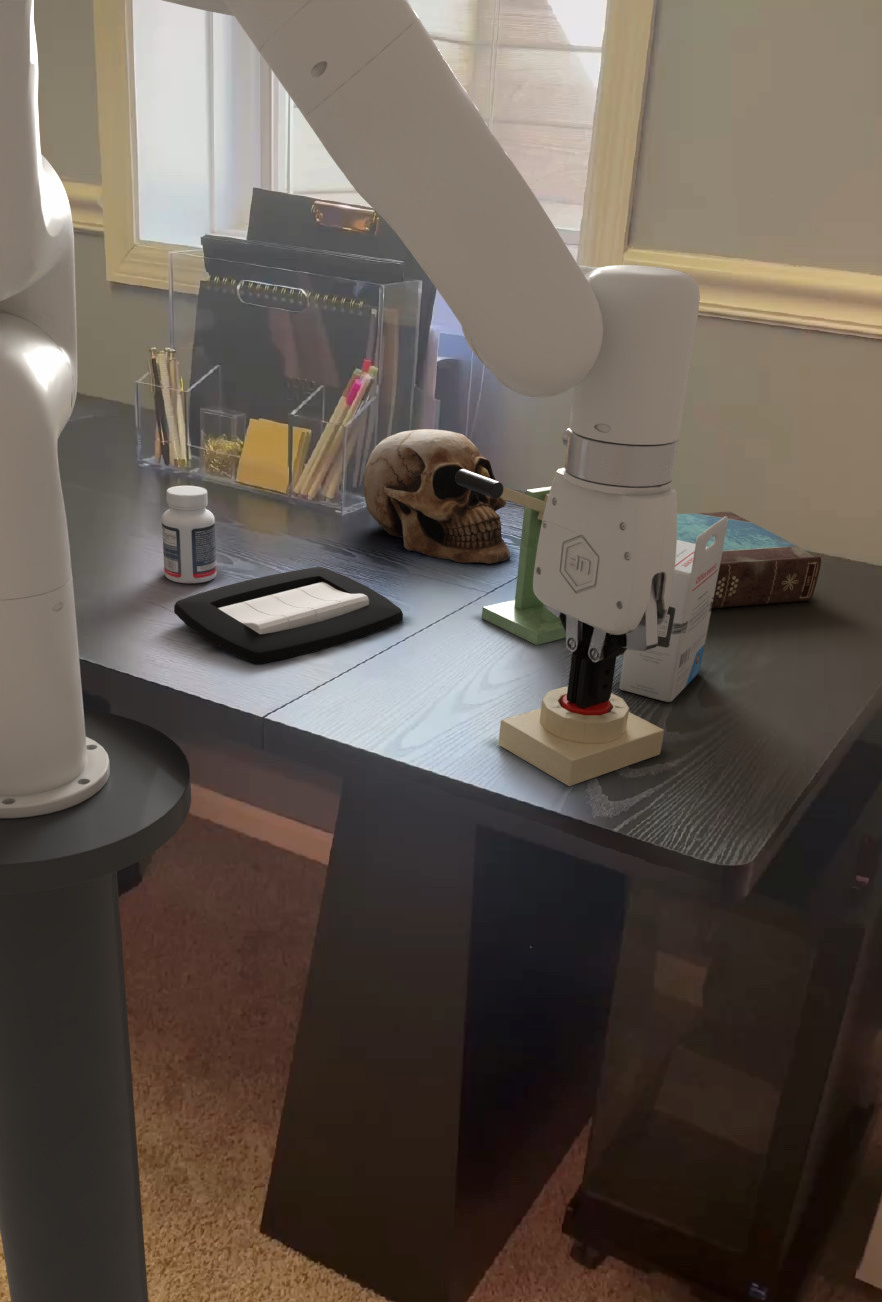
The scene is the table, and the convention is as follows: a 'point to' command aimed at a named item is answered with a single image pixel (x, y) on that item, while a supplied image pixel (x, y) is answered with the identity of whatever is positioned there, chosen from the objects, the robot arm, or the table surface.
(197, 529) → the pill bottle
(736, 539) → the book
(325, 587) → the light switch
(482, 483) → the lever
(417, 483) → the human skull model
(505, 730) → the button box
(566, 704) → the button
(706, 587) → the ink box
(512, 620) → the bracket
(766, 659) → the table surface
